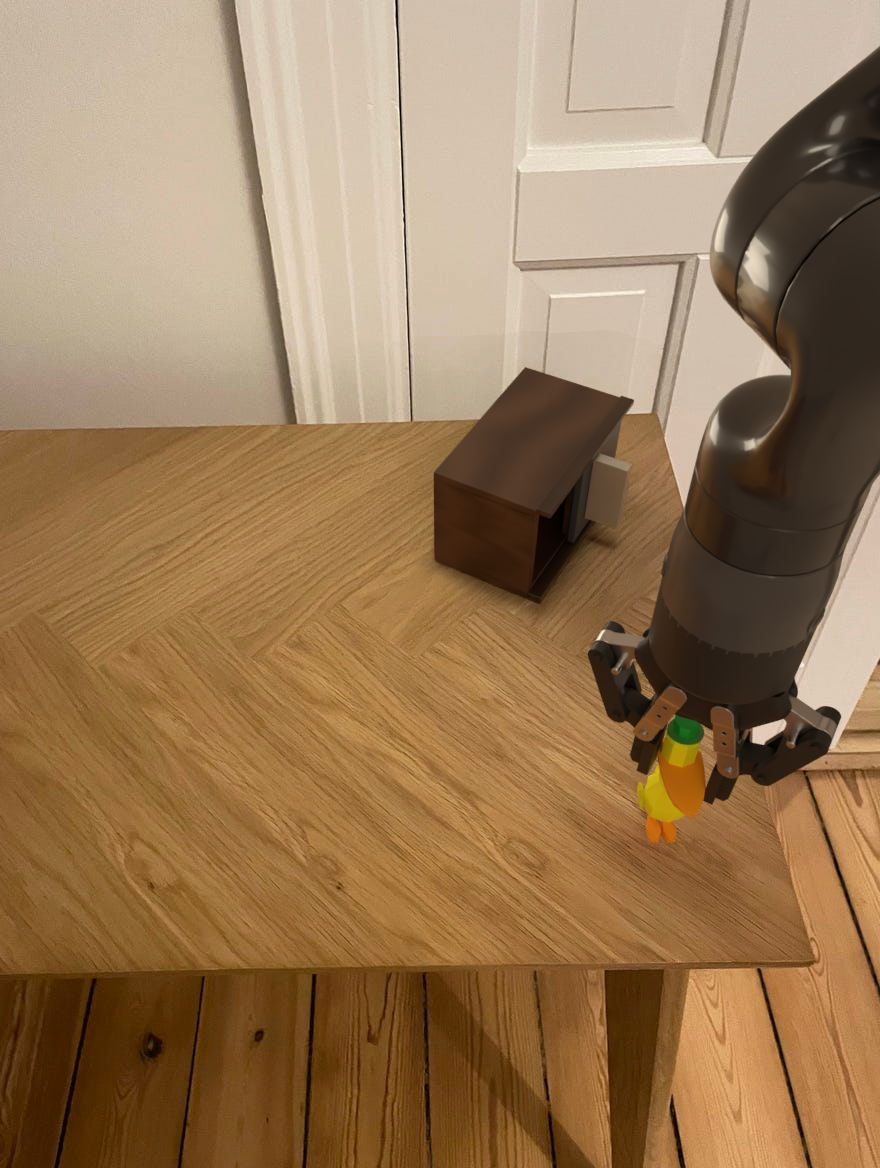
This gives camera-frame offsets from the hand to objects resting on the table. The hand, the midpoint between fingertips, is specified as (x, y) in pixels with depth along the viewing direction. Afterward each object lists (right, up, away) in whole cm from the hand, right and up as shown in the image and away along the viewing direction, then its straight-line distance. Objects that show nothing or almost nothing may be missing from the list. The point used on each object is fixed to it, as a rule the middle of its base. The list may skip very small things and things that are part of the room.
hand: (679, 776), depth 60 cm
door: (+1, +19, +26) cm, 32 cm away
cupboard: (-6, +19, +27) cm, 34 cm away
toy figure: (0, -5, +6) cm, 7 cm away
